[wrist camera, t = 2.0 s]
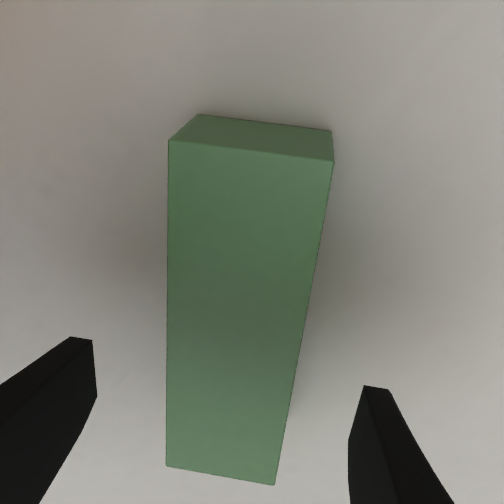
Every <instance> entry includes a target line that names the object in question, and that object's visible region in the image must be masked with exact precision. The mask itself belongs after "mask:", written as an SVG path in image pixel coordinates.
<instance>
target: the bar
mask: <svg viewBox="0 0 504 504" xmlns="http://www.w3.org/2000/svg"><path fill="white" fill-rule="evenodd" d="M334 163H335V162H334V151H333V140H332V132H331V131H327V130H319V129H311V128H303V127H295V126H287V125H279V124H271V123H263V122H255V121H247V120H239V119H232V118H224V117H216V116H208V115H200V114H198V115H196V116H195V117H194V118H193V119H192V120H190V121H189V122H188V123H187V124H186V125H185V126H184V127H182V128H181V129H180V130H179V131H178V132H177V133H176V134H174V135H173V136H172V137H171V138H170V139H169V140H168V234H167V367H166V466H167V467H173V468H178V469H184V470H190V471H195V472H201V473H206V474H212V475H217V476H223V477H228V478H234V479H239V480H245V481H250V482H256V483H261V484H267V485H272V486H274V485H275V481H276V475H277V470H278V465H279V459H280V454H281V448H282V443H283V438H284V432H285V427H286V421H287V416H288V411H289V405H290V400H291V395H292V389H293V384H294V378H295V373H296V368H297V362H298V357H299V351H300V346H301V341H302V335H303V330H304V325H305V319H306V314H307V308H308V303H309V298H310V292H311V287H312V281H313V276H314V271H315V265H316V260H317V255H318V249H319V244H320V238H321V233H322V228H323V222H324V217H325V211H326V206H327V201H328V195H329V190H330V185H331V179H332V174H333V168H334Z"/></svg>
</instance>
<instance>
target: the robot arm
mask: <svg viewBox="0 0 504 504" xmlns="http://www.w3.org/2000/svg"><path fill="white" fill-rule="evenodd" d="M96 398H97V388H96V377H95V366H94V355H93V344H92V340H89V339H83V338H77V337H71V336H70V337H69V338H67V339H66V340H64V341H63V342H61V343H60V344H58V345H57V346H56V347H54V348H53V349H51V350H50V351H48V352H47V353H46V354H44V355H43V356H41V357H40V358H38V359H37V360H36V361H34V362H33V363H31V364H30V365H28V366H27V367H26V368H24V369H23V370H21V371H20V372H18V373H17V374H15V375H14V376H12V377H11V378H9V379H8V380H7V381H5V382H4V383H2V384H1V385H0V504H39V503H40V501H41V500H42V498H43V496H44V495H45V493H46V491H47V490H48V488H49V486H50V485H51V483H52V481H53V479H54V478H55V476H56V474H57V473H58V471H59V469H60V468H61V466H62V464H63V463H64V461H65V459H66V458H67V456H68V454H69V453H70V451H71V449H72V447H73V446H74V444H75V442H76V441H77V439H78V437H79V435H80V434H81V432H82V430H83V428H84V425H85V423H86V421H87V419H88V417H89V414H90V412H91V410H92V407H93V405H94V403H95V400H96ZM348 484H349V494H350V504H454V502H453V501H452V499H451V498H450V496H449V494H448V493H447V491H446V490H445V488H444V487H443V485H442V484H441V482H440V481H439V479H438V477H437V476H436V474H435V473H434V471H433V469H432V468H431V466H430V464H429V463H428V461H427V459H426V458H425V456H424V454H423V452H422V451H421V449H420V447H419V446H418V444H417V442H416V440H415V438H414V437H413V435H412V433H411V431H410V429H409V427H408V426H407V424H406V422H405V420H404V418H403V416H402V414H401V412H400V410H399V408H398V406H397V404H396V402H395V400H394V398H393V396H392V394H391V393H390V391H389V390H388V389H383V388H377V387H371V386H365V385H364V387H363V390H362V394H361V397H360V401H359V404H358V408H357V411H356V415H355V418H354V422H353V425H352V429H351V432H350V436H349V439H348Z"/></svg>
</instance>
